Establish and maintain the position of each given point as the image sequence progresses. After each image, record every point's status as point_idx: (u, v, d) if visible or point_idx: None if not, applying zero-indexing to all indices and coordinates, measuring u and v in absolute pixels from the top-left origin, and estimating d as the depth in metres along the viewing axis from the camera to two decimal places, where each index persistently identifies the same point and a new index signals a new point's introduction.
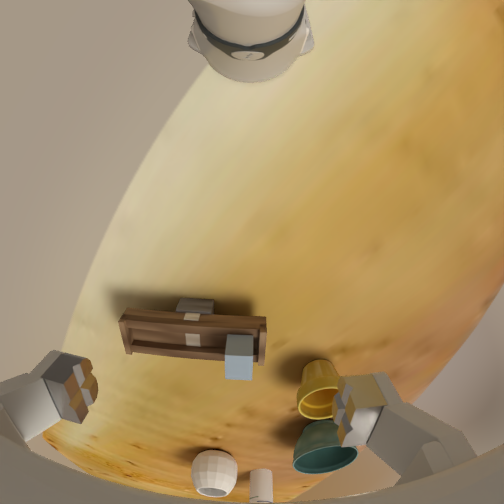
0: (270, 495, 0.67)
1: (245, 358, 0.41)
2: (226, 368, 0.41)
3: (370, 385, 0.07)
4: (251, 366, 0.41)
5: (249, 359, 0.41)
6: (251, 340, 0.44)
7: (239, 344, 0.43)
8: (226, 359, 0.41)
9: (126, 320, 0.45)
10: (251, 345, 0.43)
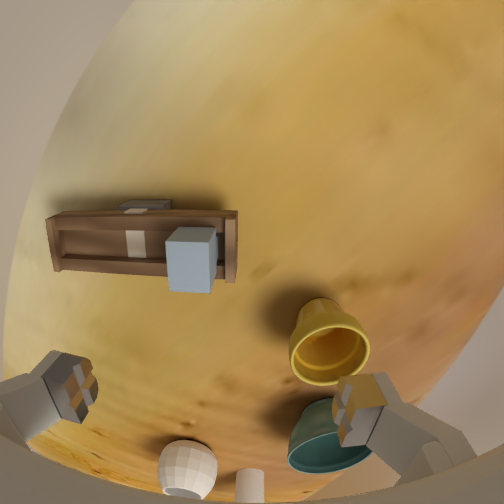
0: (260, 502, 0.51)
1: (196, 246, 0.26)
2: (169, 268, 0.27)
3: (370, 385, 0.07)
4: (207, 264, 0.27)
5: (203, 248, 0.26)
6: (211, 230, 0.30)
7: (192, 233, 0.29)
8: (168, 250, 0.26)
9: (55, 218, 0.31)
10: (210, 234, 0.28)
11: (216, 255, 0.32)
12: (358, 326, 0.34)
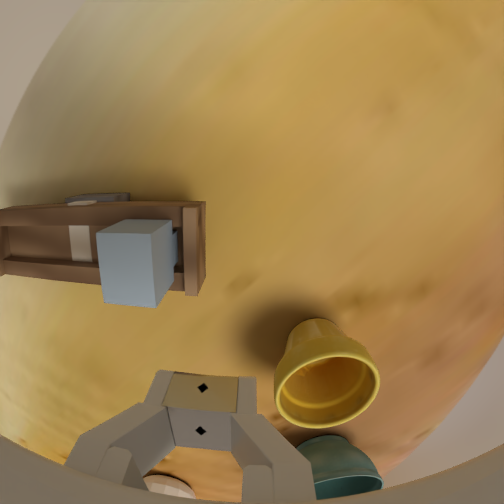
0: None
1: (135, 239, 0.18)
2: (102, 271, 0.18)
3: (228, 389, 0.07)
4: (150, 265, 0.18)
5: (143, 242, 0.18)
6: (163, 222, 0.21)
7: (136, 225, 0.20)
8: (99, 245, 0.18)
9: None
10: (159, 225, 0.20)
11: (173, 258, 0.23)
12: (366, 354, 0.25)
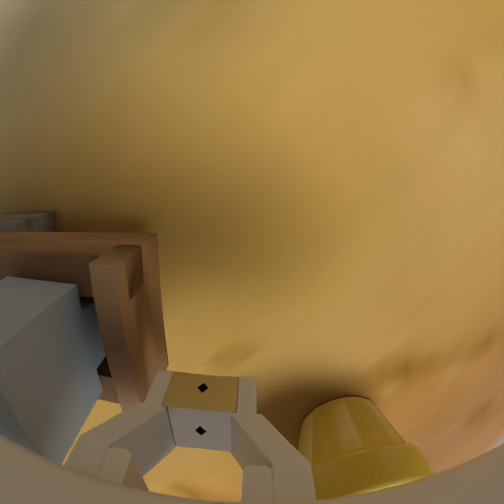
0: None
1: None
2: None
3: (228, 389, 0.07)
4: (13, 417, 0.05)
5: None
6: (51, 298, 0.08)
7: None
8: None
9: None
10: (31, 314, 0.07)
11: (92, 355, 0.10)
12: (425, 468, 0.12)
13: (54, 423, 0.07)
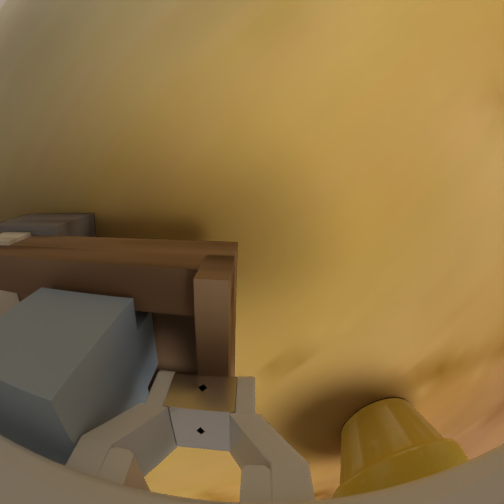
0: None
1: (21, 400, 0.04)
2: None
3: (227, 388, 0.07)
4: None
5: (41, 412, 0.04)
6: (109, 315, 0.08)
7: (43, 326, 0.07)
8: None
9: None
10: (90, 337, 0.06)
11: (145, 373, 0.10)
12: (467, 460, 0.11)
13: None
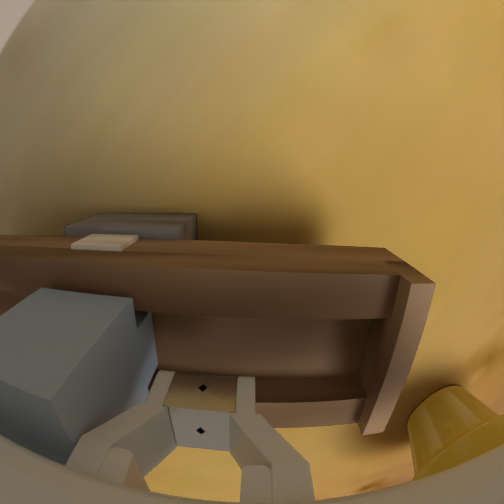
0: None
1: (21, 400, 0.04)
2: None
3: (227, 388, 0.07)
4: None
5: (40, 412, 0.04)
6: (108, 315, 0.08)
7: (43, 326, 0.07)
8: None
9: None
10: (90, 336, 0.06)
11: (144, 373, 0.10)
12: None
13: None
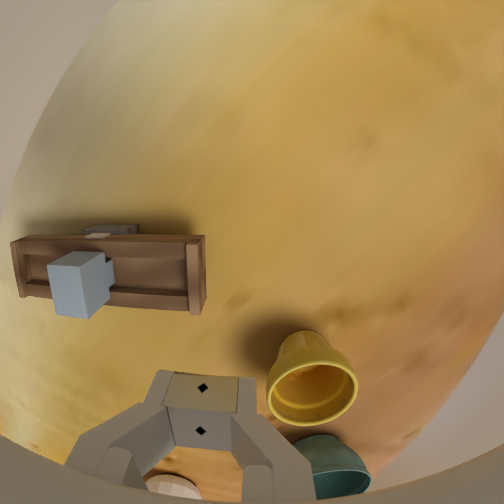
0: None
1: (70, 270, 0.22)
2: (52, 292, 0.23)
3: (228, 388, 0.07)
4: (81, 288, 0.23)
5: (75, 272, 0.22)
6: (96, 255, 0.26)
7: (76, 258, 0.25)
8: (49, 273, 0.23)
9: (20, 242, 0.27)
10: (90, 258, 0.25)
11: (107, 281, 0.28)
12: (344, 362, 0.29)
13: (92, 298, 0.25)
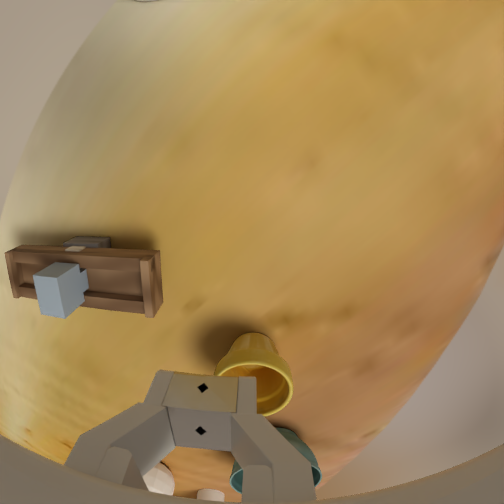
0: None
1: (50, 280, 0.27)
2: (38, 296, 0.28)
3: (228, 388, 0.07)
4: (59, 295, 0.28)
5: (54, 282, 0.27)
6: (71, 267, 0.31)
7: (56, 269, 0.30)
8: (35, 282, 0.27)
9: (13, 252, 0.32)
10: (66, 270, 0.29)
11: (82, 287, 0.33)
12: (278, 364, 0.34)
13: (68, 302, 0.29)
